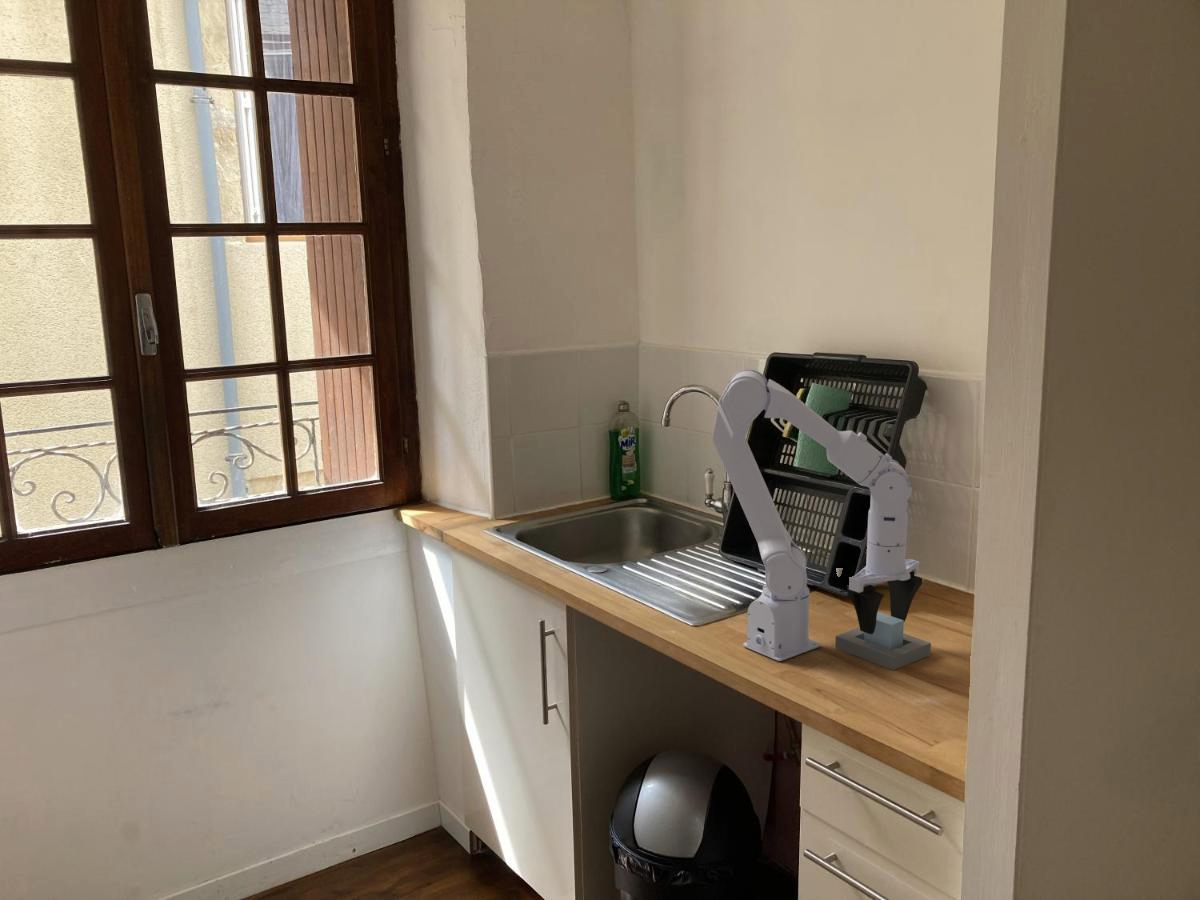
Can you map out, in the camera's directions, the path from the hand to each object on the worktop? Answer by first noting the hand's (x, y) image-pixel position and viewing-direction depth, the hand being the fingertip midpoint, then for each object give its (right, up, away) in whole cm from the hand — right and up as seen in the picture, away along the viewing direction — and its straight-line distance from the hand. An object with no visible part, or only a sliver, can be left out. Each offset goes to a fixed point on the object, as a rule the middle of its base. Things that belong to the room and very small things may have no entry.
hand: (882, 626), depth 154 cm
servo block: (0, -4, +1) cm, 4 cm away
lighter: (+2, +2, +31) cm, 31 cm away
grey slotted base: (0, -4, +1) cm, 4 cm away
